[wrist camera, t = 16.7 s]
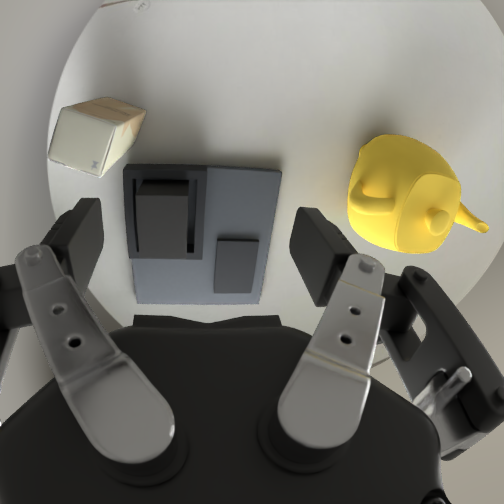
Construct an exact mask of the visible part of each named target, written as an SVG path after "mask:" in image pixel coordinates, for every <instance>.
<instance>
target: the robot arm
mask: <svg viewBox="0 0 504 504" xmlns="http://www.w3.org/2000/svg"><path fill="white" fill-rule="evenodd" d="M103 243H104V231H103V222H102V211H101V202H100V199H99V198H81V199H80V200H79V202H78V203H77V204H76V206H75V207H74V208H73V210H68V211H67V212H65V213H64V214H62V215H61V216H60V217H59V218H58V220H57V221H56V222H55V224H54V225H53V226H52V228H51V230H50V231H49V232H48V233H47V235H46V236H45V238H44V239H43V241H42V242H41V243H40V244H39V245H33V246H30V247H28V248H26V249H24V250H23V251H21V252H20V253H19V254H18V255H17V257H16V258H15V264H12V265H8V266H2V267H0V392H1V388H2V384H3V380H4V376H5V373H6V369H7V366H8V363H9V359H10V356H11V353H12V350H13V347H14V344H15V341H16V338H17V335H18V332H19V329H20V328H21V327H26V326H32V325H33V327H34V329H35V332H36V335H37V337H38V340H39V342H40V345H41V347H42V349H43V352H44V354H45V356H46V359H47V361H48V363H49V365H50V367H51V370H52V372H53V374H54V376H55V377H54V378H53V379H52V380H50V381H49V382H48V383H47V384H46V385H45V386H44V387H42V388H41V389H40V390H39V391H38V392H37V393H36V394H35V395H33V396H32V397H31V398H30V399H29V400H28V401H27V402H26V403H24V404H23V405H22V406H21V407H20V408H19V409H18V410H17V411H16V412H15V413H13V414H12V415H11V416H10V417H9V418H8V419H7V420H6V421H5V422H4V423H3V424H2V425H1V421H0V504H451V503H450V501H449V500H448V498H447V497H446V495H445V492H444V489H443V483H442V477H441V460H444V461H449V460H452V459H454V458H456V457H457V456H458V455H460V454H461V453H463V452H464V451H466V450H467V449H469V448H470V447H471V446H473V445H474V444H475V443H477V442H478V441H480V440H481V439H482V438H484V437H485V436H486V435H487V434H489V433H490V432H491V431H492V430H494V429H495V428H496V427H497V426H499V425H500V424H501V423H502V422H503V421H504V377H503V375H502V374H501V372H500V370H499V369H498V367H497V366H496V364H495V362H494V361H493V359H492V358H491V356H490V355H489V353H488V352H487V350H486V349H485V347H484V346H483V344H482V343H481V341H480V340H479V338H478V337H477V335H476V334H475V333H474V331H473V330H472V328H471V327H470V325H469V324H468V323H467V321H466V320H465V319H464V317H463V316H462V315H461V313H460V312H459V310H458V309H457V308H456V306H455V305H454V304H453V302H452V301H451V300H450V299H449V297H448V296H447V295H446V293H445V292H444V291H443V290H442V288H441V287H440V286H439V285H438V283H437V282H436V281H435V280H434V279H433V277H432V276H431V275H430V274H429V273H427V272H426V271H424V270H423V269H421V268H418V267H415V266H406V267H405V268H404V270H403V272H402V274H401V276H396V275H392V274H387V273H385V268H384V266H383V265H382V264H381V263H380V262H379V261H378V260H376V259H375V258H373V257H371V256H368V255H365V254H360V253H358V252H357V251H356V250H355V248H354V247H353V246H352V245H351V243H350V242H349V241H348V240H347V238H346V237H345V236H344V235H342V232H341V231H340V230H339V228H338V227H337V226H335V225H334V224H333V223H331V222H330V221H328V220H326V218H325V217H324V216H323V215H322V213H321V212H320V211H319V210H318V209H317V208H308V207H299V208H298V210H297V213H296V217H295V221H294V225H293V229H292V234H291V238H290V244H289V248H290V254H291V256H292V258H293V260H294V262H295V264H296V266H297V268H298V270H299V272H300V274H301V277H302V279H303V281H304V283H305V285H306V287H307V289H308V291H309V293H310V295H311V297H312V299H313V302H314V304H315V306H316V307H325V306H327V307H326V309H325V311H324V313H323V315H322V317H321V320H320V322H319V324H318V326H317V328H316V330H315V332H314V334H313V336H311V335H309V334H308V333H305V332H303V331H301V330H298V329H295V328H291V327H287V326H282V324H281V321H280V318H279V315H268V316H242V317H238V318H233V319H228V320H223V321H219V322H214V323H202V322H197V321H192V320H187V319H182V318H178V317H173V316H157V315H134V320H133V326H127V327H123V328H120V329H117V330H114V331H112V332H110V333H107V331H106V330H105V329H104V327H103V326H102V324H101V323H100V321H99V320H98V318H97V317H96V315H95V314H94V312H93V311H92V309H91V308H90V306H89V304H88V303H87V301H86V300H85V298H84V295H85V292H86V289H87V287H88V284H89V281H90V279H91V276H92V273H93V271H94V268H95V266H96V263H97V261H98V258H99V256H100V253H101V251H102V248H103ZM418 315H419V316H420V317H421V319H422V320H423V322H424V324H425V326H426V336H425V339H424V340H423V341H422V342H421V341H420V339H419V337H418V336H417V334H416V332H415V331H414V329H413V327H412V325H413V323H414V321H415V320H416V318H417V317H418ZM378 334H379V336H380V338H381V340H382V342H383V344H384V346H385V348H386V350H387V352H388V354H389V356H390V358H391V360H392V362H393V364H394V366H395V368H396V370H397V372H398V374H399V376H400V378H401V380H402V382H403V384H404V387H405V389H406V391H407V393H408V395H409V397H410V400H411V402H412V403H410V402H409V401H407V400H406V399H404V398H403V397H401V396H400V395H398V394H397V393H395V392H394V391H392V390H390V389H389V388H388V387H386V386H385V385H383V384H382V383H380V382H379V381H377V380H376V379H374V378H373V377H371V376H370V375H369V372H370V368H371V364H372V360H373V356H374V352H375V348H376V343H377V338H378Z"/></svg>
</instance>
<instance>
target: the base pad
mask: <svg viewBox="0 0 504 504" xmlns="http://www.w3.org/2000/svg"><path fill="white" fill-rule="evenodd" d="M281 177H282V172H281V171H280V170H272V169H260V168H247V167H231V166H211V165H184V164H127V165H126V166H125V168H124V169H123V189H124V207H125V221H126V233H127V244H128V253H129V259H131V260H132V269H133V277H134V285H135V292H136V299H137V304H182V305H236V304H259V300H260V295H261V289H262V284H263V279H264V273H265V268H266V262H267V257H268V251H269V245H270V240H271V234H272V229H273V223H274V217H275V212H276V206H277V200H278V194H279V188H280V182H281ZM143 180H189V194H188V225H187V258H186V259H180V258H140V256H139V245H138V232H137V216H136V193H137V191H138V189H139V187H140V185H141V183H142V181H143Z"/></svg>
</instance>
